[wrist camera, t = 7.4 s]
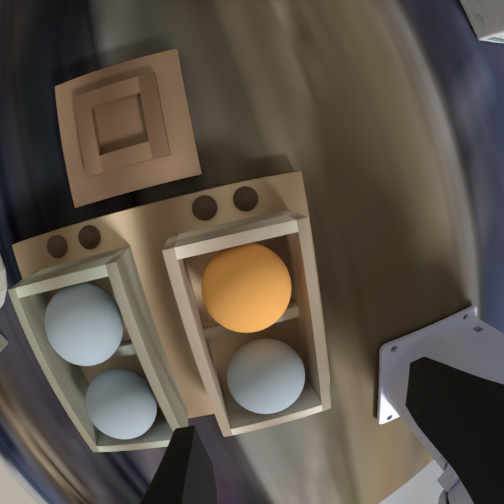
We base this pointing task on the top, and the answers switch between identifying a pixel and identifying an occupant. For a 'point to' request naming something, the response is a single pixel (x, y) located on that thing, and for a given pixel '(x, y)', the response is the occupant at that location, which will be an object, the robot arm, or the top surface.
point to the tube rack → (178, 303)
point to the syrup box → (486, 18)
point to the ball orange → (246, 287)
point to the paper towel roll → (2, 296)
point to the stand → (126, 128)
